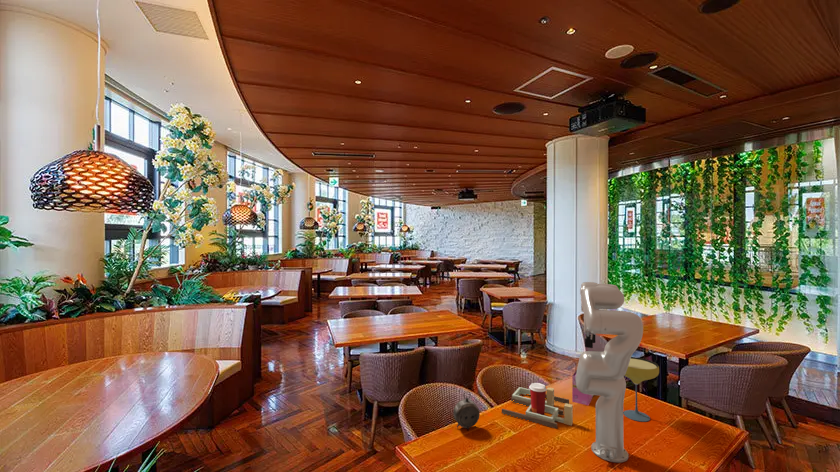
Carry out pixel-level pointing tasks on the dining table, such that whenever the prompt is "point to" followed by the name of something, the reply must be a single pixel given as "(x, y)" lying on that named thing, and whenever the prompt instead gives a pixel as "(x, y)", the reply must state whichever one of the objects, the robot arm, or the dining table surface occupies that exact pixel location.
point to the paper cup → (538, 398)
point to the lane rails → (534, 419)
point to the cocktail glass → (638, 373)
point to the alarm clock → (466, 413)
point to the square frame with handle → (527, 391)
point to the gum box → (579, 393)
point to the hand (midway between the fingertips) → (590, 344)
